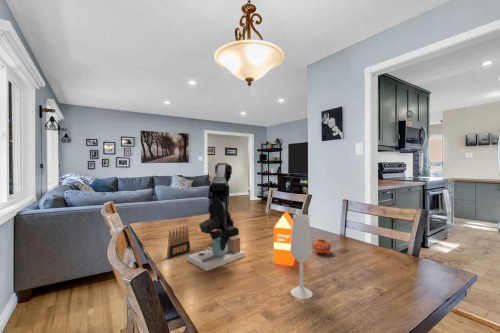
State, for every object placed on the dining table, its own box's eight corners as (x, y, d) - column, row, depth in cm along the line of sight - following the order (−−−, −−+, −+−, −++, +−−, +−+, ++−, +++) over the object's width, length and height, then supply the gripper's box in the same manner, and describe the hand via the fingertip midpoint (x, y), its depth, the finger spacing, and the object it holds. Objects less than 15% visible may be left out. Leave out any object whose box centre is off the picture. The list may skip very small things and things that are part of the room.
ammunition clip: (169, 258, 102) (169, 230, 102) (167, 257, 103) (166, 230, 103) (190, 251, 110) (189, 225, 110) (187, 250, 111) (187, 225, 111)
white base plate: (224, 248, 113) (224, 232, 113) (244, 256, 103) (244, 238, 103) (187, 260, 99) (187, 241, 99) (206, 271, 89) (206, 249, 89)
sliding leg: (211, 249, 106) (211, 234, 106) (226, 255, 99) (226, 239, 98) (204, 251, 103) (204, 236, 103) (218, 257, 96) (218, 241, 96)
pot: (334, 252, 107) (333, 238, 106) (327, 261, 102) (326, 247, 101) (318, 247, 113) (317, 234, 112) (310, 255, 107) (309, 242, 106)
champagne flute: (288, 287, 77) (287, 213, 77) (308, 286, 77) (308, 213, 77) (293, 299, 70) (293, 218, 70) (315, 298, 70) (315, 217, 70)
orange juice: (296, 257, 102) (295, 211, 102) (292, 265, 94) (292, 215, 94) (278, 255, 104) (278, 210, 104) (273, 263, 96) (273, 214, 96)
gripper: (190, 211, 99) (190, 248, 99) (217, 218, 86) (217, 261, 86) (211, 207, 107) (212, 242, 107) (239, 213, 94) (239, 252, 94)
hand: (219, 249), depth 99 cm, fingers closed on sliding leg, 4 cm apart
